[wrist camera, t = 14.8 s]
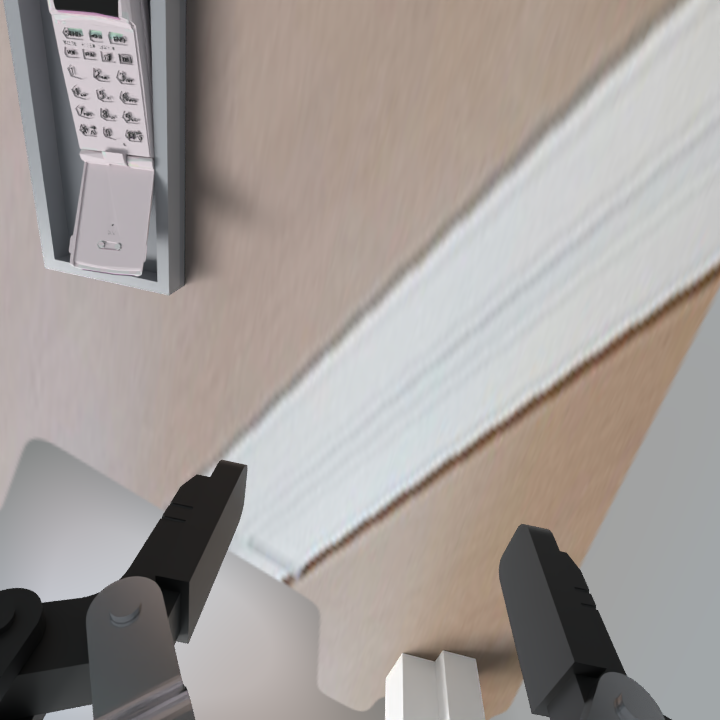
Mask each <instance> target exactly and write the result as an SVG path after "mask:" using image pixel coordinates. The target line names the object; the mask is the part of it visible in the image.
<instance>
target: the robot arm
mask: <svg viewBox="0 0 720 720" xmlns="http://www.w3.org/2000/svg"><path fill="white" fill-rule="evenodd" d="M246 478H247V465H244V464H239V463H234V462H230V461H225V460H220V461H219V463H218V464H217V466H216V468H215V470H214V472H213V473H212V475H211V477H206V476H202V475H196V476H194V477H193V478H192V479H190V480H189V481H188V482H186V483H185V484H184V485H182V486H181V487H180V489H179V490H178V492H177V493H176V495H175V497H174V498H173V500H172V501H171V504H170V506H168V508H167V509H166V511H165V512H164V514H163V516H162V519H160V520H159V522H158V523H157V525H156V527H155V528H154V530H153V531H152V533H151V534H150V536H149V538H148V539H147V541H146V542H145V544H144V546H143V547H142V549H141V550H140V552H139V553H138V555H137V557H136V558H135V560H134V561H133V563H132V565H131V566H130V568H129V569H128V570H127V572H126V573H125V574H124V575H123V576H122V578H121V579H119V580H118V581H116V582H114V583H112V584H110V585H109V586H107V587H106V588H104V589H103V590H102V591H101V592H99V593H97V594H94V595H91V596H88V597H83V598H77V599H69V600H61V601H53V602H45V603H41V600H40V598H39V597H38V595H37V594H36V593H34V592H33V591H30V590H28V589H24V588H12V589H6V590H2V591H0V720H43V718H44V716H45V715H46V713H50V712H55V711H60V710H65V709H70V708H75V707H80V706H85V705H91V704H92V706H93V717H94V720H195V717H194V712H193V709H192V704H191V700H190V697H189V694H188V691H187V688H186V687H185V686H184V684H183V681H182V678H181V674H180V669H179V665H178V661H177V656H176V652H175V647H174V645H175V643H176V641H178V642H183V643H189V641H190V638H191V636H192V633H193V631H194V629H195V626H196V624H197V622H198V619H199V617H200V614H201V612H202V609H203V607H204V605H205V602H206V600H207V598H208V595H209V593H210V591H211V588H212V586H213V583H214V581H215V579H216V576H217V574H218V571H219V569H220V566H221V564H222V561H223V559H224V557H225V555H226V552H227V550H228V547H229V545H230V543H231V540H232V538H233V535H234V533H235V531H236V528H237V526H238V523H239V520H240V517H241V514H242V510H243V505H244V498H245V488H246ZM499 579H500V583H501V587H502V592H503V596H504V600H505V604H506V608H507V612H508V617H509V621H510V625H511V629H512V633H513V637H514V642H515V646H516V650H517V654H518V658H519V662H520V667H521V671H522V675H523V679H524V683H525V687H526V691H527V696H528V700H529V704H530V708H531V712H532V714H537V715H542V716H547V717H550V720H671V719H669V718H668V717H666V716H664V715H663V714H662V712H661V710H660V708H659V706H658V705H657V703H656V702H655V701H654V699H653V698H652V697H651V696H650V694H649V693H648V692H647V691H646V690H645V689H644V688H643V687H642V686H641V685H639V684H638V683H637V682H636V681H634V680H633V679H631V678H629V677H628V676H627V675H626V673H625V671H624V669H623V666H622V664H621V662H620V660H619V657H618V655H617V653H616V650H615V648H614V646H613V644H612V641H611V639H610V637H609V634H608V632H607V630H606V627H605V625H604V623H603V621H602V618H601V616H600V614H599V612H598V610H596V605H595V602H594V600H593V598H592V595H591V594H589V589H588V586H587V584H586V582H585V579H584V577H583V575H582V572H581V570H580V569H579V568H578V567H577V565H576V564H575V563H574V562H573V560H572V559H571V558H570V557H569V555H568V554H567V553H565V552H561V551H559V548H558V546H557V543H556V541H555V538H554V536H553V534H552V532H551V531H550V530H548V529H544V528H539V527H535V526H530V525H525V524H521V525H520V526H519V527H518V528H517V530H516V532H515V534H514V535H513V537H512V539H511V541H510V543H509V544H508V546H507V548H506V550H505V552H504V553H503V555H502V557H501V560H500V565H499Z"/></svg>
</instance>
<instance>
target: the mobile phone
mask: <svg viewBox="0 0 720 720" xmlns="http://www.w3.org/2000/svg"><path fill="white" fill-rule="evenodd" d="M47 1H48V7H49V12H50V13H51V15H52V20H53V25H54V31H55V36H56V41H57V46H58V51H59V56H60V60H61V65H62V69H63V74H64V78H65V83H66V87H67V92H68V96H69V101H70V106H71V110H72V115H73V119H74V124H75V128H76V133H77V137H78V142H79V147H80V149H81V151H80V153H79V154H80V157H81V159H82V160H83V161H84V169H83V175H82V181H81V188H80V194H79V201H78V207H77V213H76V220H75V226H74V232H73V235H72V236H71V238H70V245H69V253H71V255H70V264H71V265H72V266H73V267H76V268H78V269H82V270H86V271H93V272H99V273H106V274H112V275H123V276H140V275H142V271H143V264H144V262H145V261H146V256H147V240H148V233H149V224H150V214H151V205H152V196H153V187H154V178H155V162H154V123H153V84H152V45H151V30H150V20H149V11H148V2H147V0H47Z"/></svg>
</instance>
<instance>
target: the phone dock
mask: <svg viewBox="0 0 720 720" xmlns="http://www.w3.org/2000/svg"><path fill="white" fill-rule="evenodd" d="M3 1H4V7H5V14H6V20H7V26H8V33H9V39H10V46H11V52H12V59H13V65H14V72H15V78H16V85H17V91H18V98H19V104H20V111H21V117H22V124H23V130H24V136H25V143H26V149H27V156H28V162H29V169H30V175H31V182H32V188H33V195H34V201H35V208H36V214H37V221H38V227H39V233H40V240H41V246H42V253H43V259H44V266H45V268H46V269H51V270H56V271H60V272H65V273H69V274H74V275H78V276H83V277H87V278H92V279H97V280H101V281H106V282H110V283H115V284H119V285H124V286H128V287H133V288H138V289H142V290H147V291H151V292H156V293H160V294H165V295H170V294H172V293H174V292H175V291H177V290H178V289H180V288H181V287H183V286H184V272H185V99H186V0H147V2H148V11H149V20H150V30H151V45H152V84H153V123H154V162H155V178H154V187H153V196H152V205H151V214H150V224H149V233H148V240H147V256H146V261H145V262H144V264H143V271H142V275H140V276H123V275H112V274H106V273H99V272H93V271H86V270H82V269H78V268H76V267H73V266H72V265H71V264H70V255H71V253H69V245H70V238H71V236H72V235H73V232H74V226H75V220H76V213H77V207H78V201H79V194H80V188H81V181H82V175H83V169H84V161H83V160H82V159H81V157H80V154H79V153H80V151H81V149H80V147H79V142H78V137H77V133H76V128H75V124H74V119H73V115H72V110H71V106H70V101H69V96H68V92H67V87H66V83H65V78H64V74H63V69H62V65H61V60H60V56H59V51H58V46H57V41H56V36H55V31H54V25H53V20H52V15H51V13H50V12H49V7H48V1H47V0H3Z"/></svg>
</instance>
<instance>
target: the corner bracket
mask: <svg viewBox="0 0 720 720" xmlns="http://www.w3.org/2000/svg"><path fill="white" fill-rule="evenodd" d="M385 720H485V714H484V708H483V701H482V695H481V689H480V682H479V676H478V669H477V663H476V659H474V658H471V657H467V656H463V655H459V654H455V653H451V652H448V651H444V650H443V651H442V652H441V654H440V655H439V656H438V658H437V659H436V661H431V660H427V659H423V658H420V657H416V656H412V655H408V654H404V653H402V654H401V656H400V658H399V659H398V661H397V662H396V664H395V665H394V667H393V668H392V670H391V671H390V673H389V674H388V676H387V677H386V696H385Z"/></svg>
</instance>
